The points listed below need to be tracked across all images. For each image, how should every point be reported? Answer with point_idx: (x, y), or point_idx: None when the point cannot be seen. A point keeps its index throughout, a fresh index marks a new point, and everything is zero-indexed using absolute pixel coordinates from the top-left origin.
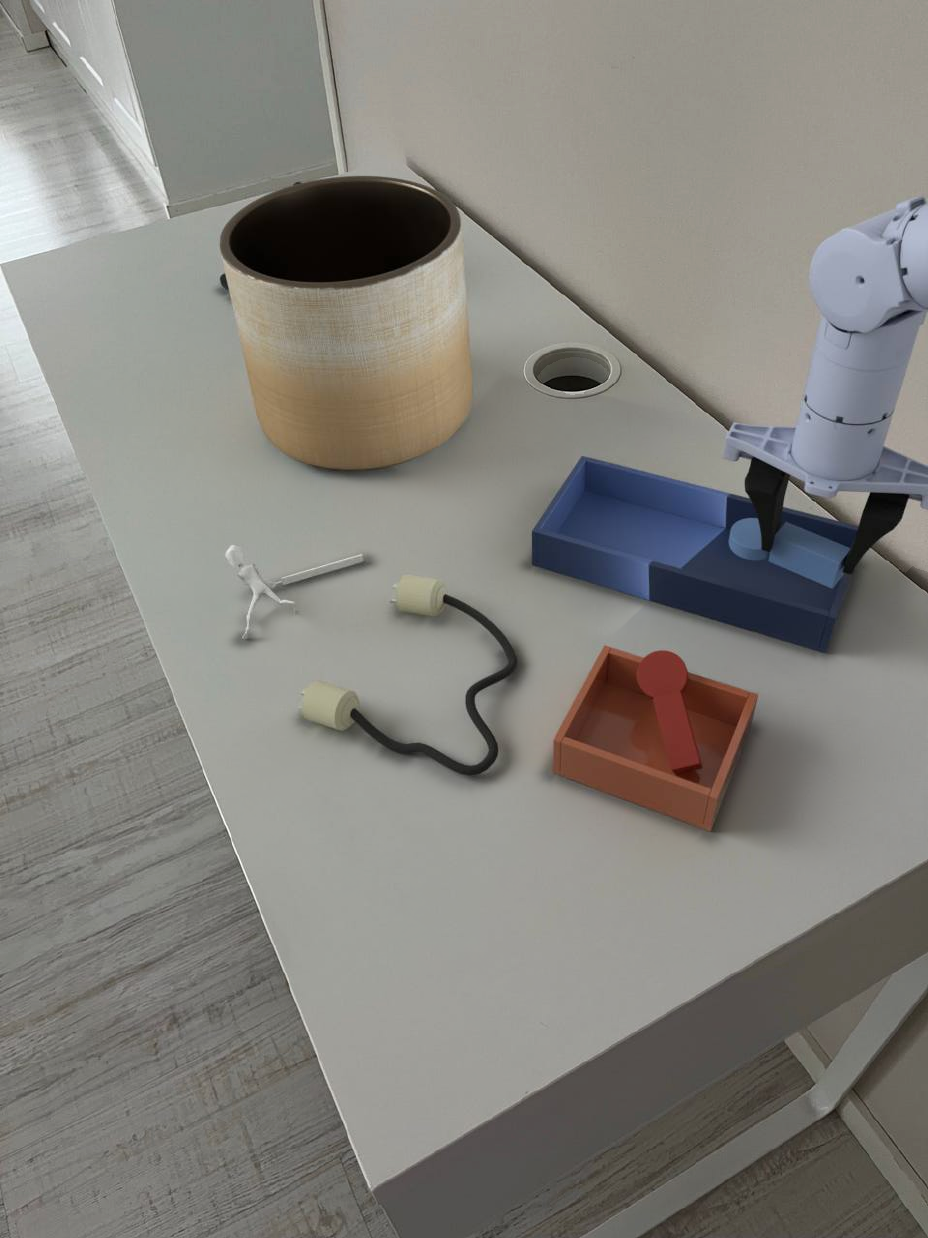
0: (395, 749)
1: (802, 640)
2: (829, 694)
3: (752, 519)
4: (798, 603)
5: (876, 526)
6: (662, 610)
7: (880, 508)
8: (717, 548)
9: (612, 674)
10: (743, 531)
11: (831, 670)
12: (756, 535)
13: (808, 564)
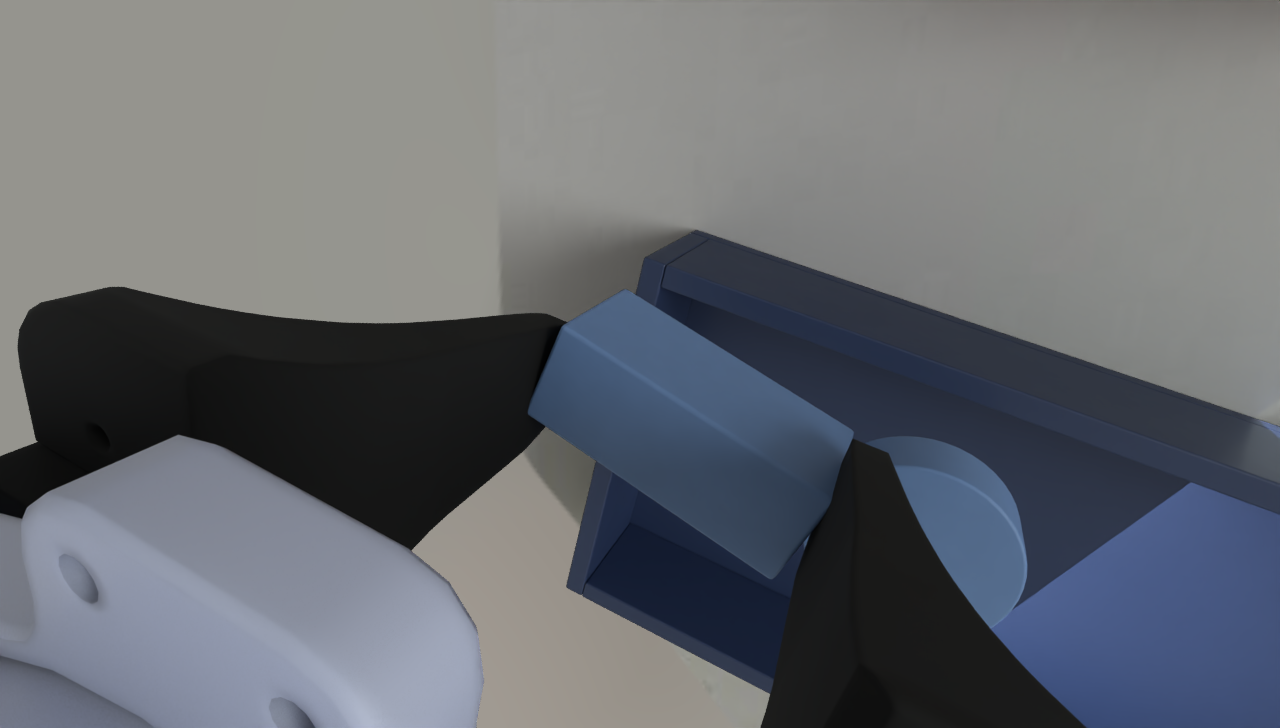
0: None
1: (751, 254)
2: (692, 77)
3: None
4: (752, 314)
5: (211, 324)
6: (1205, 375)
7: (122, 423)
8: None
9: None
10: (960, 574)
11: (684, 170)
12: None
13: (695, 366)
